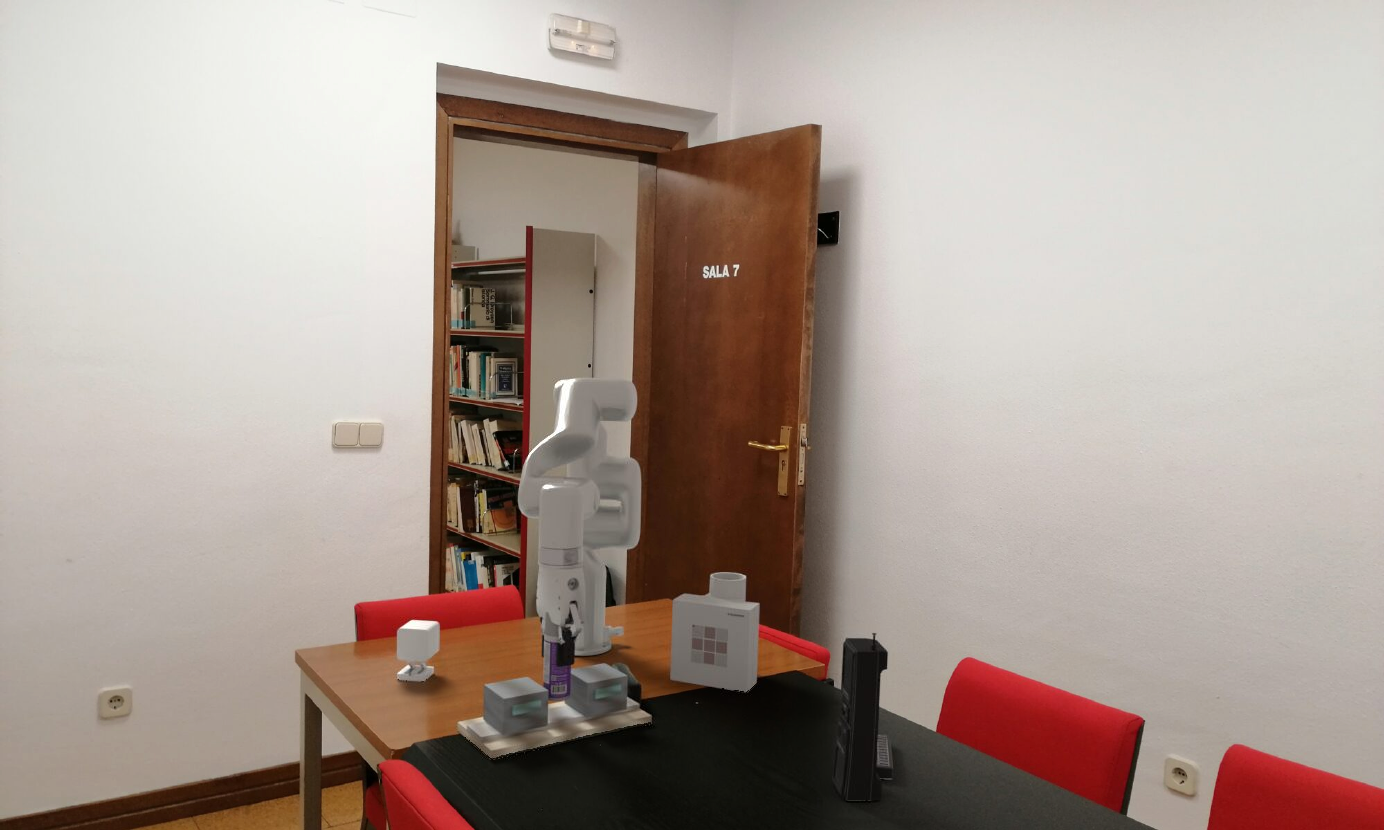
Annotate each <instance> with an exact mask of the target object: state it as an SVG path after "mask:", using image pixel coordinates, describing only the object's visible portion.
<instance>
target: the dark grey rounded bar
mask: <svg viewBox="0 0 1384 830" xmlns="http://www.w3.org/2000/svg"><path fill="white" fill-rule="evenodd" d="M611 667H613V668H614V669H616V670H618V671H620V672H622V673H624V674H626V675H627V676H628V682H627V697H628V698H630V699H632V700H633V701H635V702H637V703H638V704H640V707H641V706H642V690H643V689H642V684H641V683H640V682H639V681H638V679H637V678H636V677H635V675H633V673H632V672H631V670H630V667H629V666H628V665H627V664H624V663H622V662H615V663H612V666H611Z"/></svg>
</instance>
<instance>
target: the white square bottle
mask: <svg viewBox="0 0 1384 830" xmlns="http://www.w3.org/2000/svg"><path fill="white" fill-rule="evenodd" d="M746 589H747V575H745V574H742V573H739V572H738V573H737V572H725V571H724V572H723V571H722V572H714V573H711V574H710V575H709V592H708V593H706V594H705V595H702V594H701V595H699V594H691V593H683V594H680V595H679V596H677V597H675V598H674V599H673V600H672V613H671V614H672V615H671V618H672V619H671V646H670V647H671V648H670V673H669V674H670V681H674V682H680V683H686V684H693V685H699V686H706V687H710V688H711V687H712V688H716V689H722V688H724V690H729V691H734V690H739V691H738V692H740V691H744V692H743V693H746V692H747V691H748V690H749V691H751V690H752V689H753V688H754V687H755V686H756V685H757V684H756V683H757V680H758V656H759V655H758V654H759V633H760V632H759V631H760V627H759V626H760V602H752V601H746V599H747V597H746V594H747V593H746V592H747V590H746ZM755 684H756V685H755ZM754 685H755V686H754ZM753 686H754V687H753ZM752 687H753V688H752ZM751 688H752V689H751ZM750 689H751V690H750ZM749 691H748V692H749ZM748 692H747V693H748Z"/></svg>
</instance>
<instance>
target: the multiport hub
mask: <svg viewBox="0 0 1384 830" xmlns="http://www.w3.org/2000/svg"><path fill="white" fill-rule="evenodd" d="M876 772H877V774H878V776H879V777H880V778H893V779H894V762H893V752H892V741H891V735H890V734H887V733H879V732H878V744H877V768H876Z"/></svg>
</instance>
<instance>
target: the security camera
mask: <svg viewBox="0 0 1384 830" xmlns="http://www.w3.org/2000/svg"><path fill="white" fill-rule="evenodd" d="M440 626H441V625H440V623H439V622H438V621H436V620H435V621H434V620H421V619H420V620H419V619H418V620H417V619H411V620H410V621H408V622H407V623H405V624H404V625H402V626H400V627H398V629H397V631H396V658H397V660H399V661H406V662H407V665H406V666H405V667H403V668H402V669H401V670H400V671H398V672H397V673H396V675H397V676H396V677H397V679H399V680H398V681H406V680H407V682H408V681H409V682H421V681H424V682H426V679H427V680H428V679H429V678H430V677H431V676H432V675H434V673H435V667H434V666H430V665H429V666H428V665H426V662H428V661H429V659H431V658H432V657H433V656H434V655H435V654H437V653H438V652H439V651H440V635H441V633H440V630H441V627H440ZM415 663H418V664H419V665H415ZM397 679H396V680H397Z"/></svg>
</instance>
